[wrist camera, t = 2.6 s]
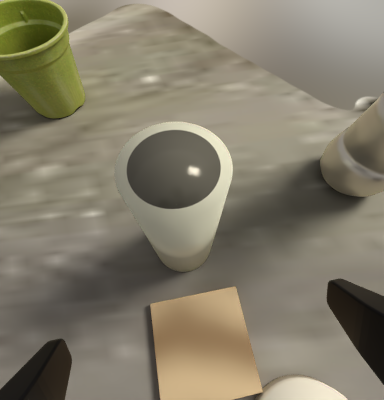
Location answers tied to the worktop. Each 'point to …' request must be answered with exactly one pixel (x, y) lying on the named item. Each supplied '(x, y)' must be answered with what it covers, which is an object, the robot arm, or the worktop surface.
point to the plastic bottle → (357, 155)
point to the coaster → (203, 348)
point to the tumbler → (176, 189)
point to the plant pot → (39, 56)
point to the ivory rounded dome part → (298, 389)
